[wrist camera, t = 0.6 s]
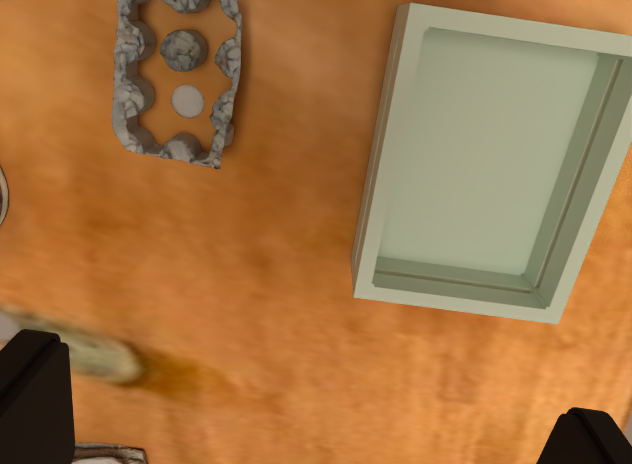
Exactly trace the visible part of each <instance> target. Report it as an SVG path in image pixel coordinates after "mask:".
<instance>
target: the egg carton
mask: <svg viewBox="0 0 632 464" xmlns="http://www.w3.org/2000/svg"><path fill="white" fill-rule="evenodd" d="M149 1H151V0H117V13H118V28H117V30H116V34H117V36H118V37H117V42H116V45H115V48H114V61H115V71H114V96H113V107H112V127H113V130H114V132H115V134H116V136H117V137H118V139H119V140H120V142H121V143H122V145H123V146H124V148H125V149H126V150H128V151H131V152H135V153H139V154H147V155H152V156H157V157H161V158H166V159H177V160H181V161H187V162H190V163H192V164H196V165H200V166H206V167H211V168H215V169H220V163H221V161H222V150H223V147H224V146H227V145H229V144H231V142H232V139H233V135H234V125H232V124H230V123H229V122H230V120H231V117H232V111H233V102H234V97H235V94H236V92H237V89H238V88H237V86H238V82H239V77H240V67H241V38H242V33H243V22H242V21H241V19H242V15H241V13H240V12H239V9H238V0H221V5H222V10H223V11H224V13H225V14H226V15H227V16H228V17H229V18H231V19H233V20H235V21H236V23H237V34H236V37H233V38H232V39H230V40H227V41H225V42H224V43H223V44H222V45H221V47H220V48H219V50H218V53H217V54H216V56H215V63H216V64H217V65H218V66H219V67H220V69H221V71H222V72H223V73H224V74H225V75H226V76H227V77H229V78H231V79H232V82H233V83H232V87H231V89H230V90H228V91H227V92H225V93H224V94H222V95H220V97H219V98H218V101H216V102H215V103H214V105H213V106H212V108H213V113H212V114H211V115H210V119H211V121H212V124H213V126H214V127H215V132H214V137H213V142H212V147H211V151H210V153H207V152H203V151H202V148H201V145H200V142H199V141H198V140H197V139H196V138H195V137H194V136H192V135H190V134H178V135H176V136H175V137H173V138H172V139H170V140H169V141H168V142H167V143H166V144H165V145H164V146H163V145H158V144H156V143H155V141H154V138H153V136H152V134H151V133H150V132H149V131H148V130H147V129H145V128H143V127H140V126H139V125H138V114H140V113H142V112H144V111H146V110H148V109H149V108H151V106H152V105H153V103H154V101H155V92H154V88H153V86H152V85H151V83H149V82H148V81H147V80H146V79H144V78H143V77H141V76H139V75H138V60H142V59H146V58H148V57H150V56H151V55H152V54H153V53H154V51H155V47H156V38H155V35H154V32H153V31H152V30H151V28H150V27H148V26H147V25H146V24H145V23H143V22H141V21H139V20H138V5H139V4H144V3H148V2H149ZM163 1H164V2H165V3H167V4H169V5H171V6H172V7H173V8H174V9H175V10H176V11H177V12H179V13H196V12H200V11H202V10H204V9H205V8H206V7H207V5H208V3H209V1H210V0H163ZM207 51H208V50H207V44H206V42H205V40H204V38H203V37H202V36H201V35H200V34H199V33H197V32H195V31H193V30H176V31H174V32H172V33H170V34H168V35H167V37H166V38H165V39H164V41H163V42H162V44H161V48H160V53H161V55H162V56H163V58H164V59H165V61H166V63H167V64H168V66H169V67H170V68H171V69H173V70H175V71H180V72H187V71H190V70H192V69H193V68H195V67H198V66H199V65H201V64H202V63H203V62H204V60H205V59H206V57H207ZM203 98H204V97H203V95H202V93H201V92H200V91H199V89H198V88H196V87H195V86H193V85H190V84H183V85H181V86H178V87H177V88H176V89H175V90H174V92H173V95H172V98H171V103H172V106H173V108H174V110H175V111H176V112H177V113H178V114H179V115H180V116H182V117H185V118H193V117H196V116H198V115H199V114H200V113H201V112H202V111H203V108H204V99H203Z"/></svg>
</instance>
